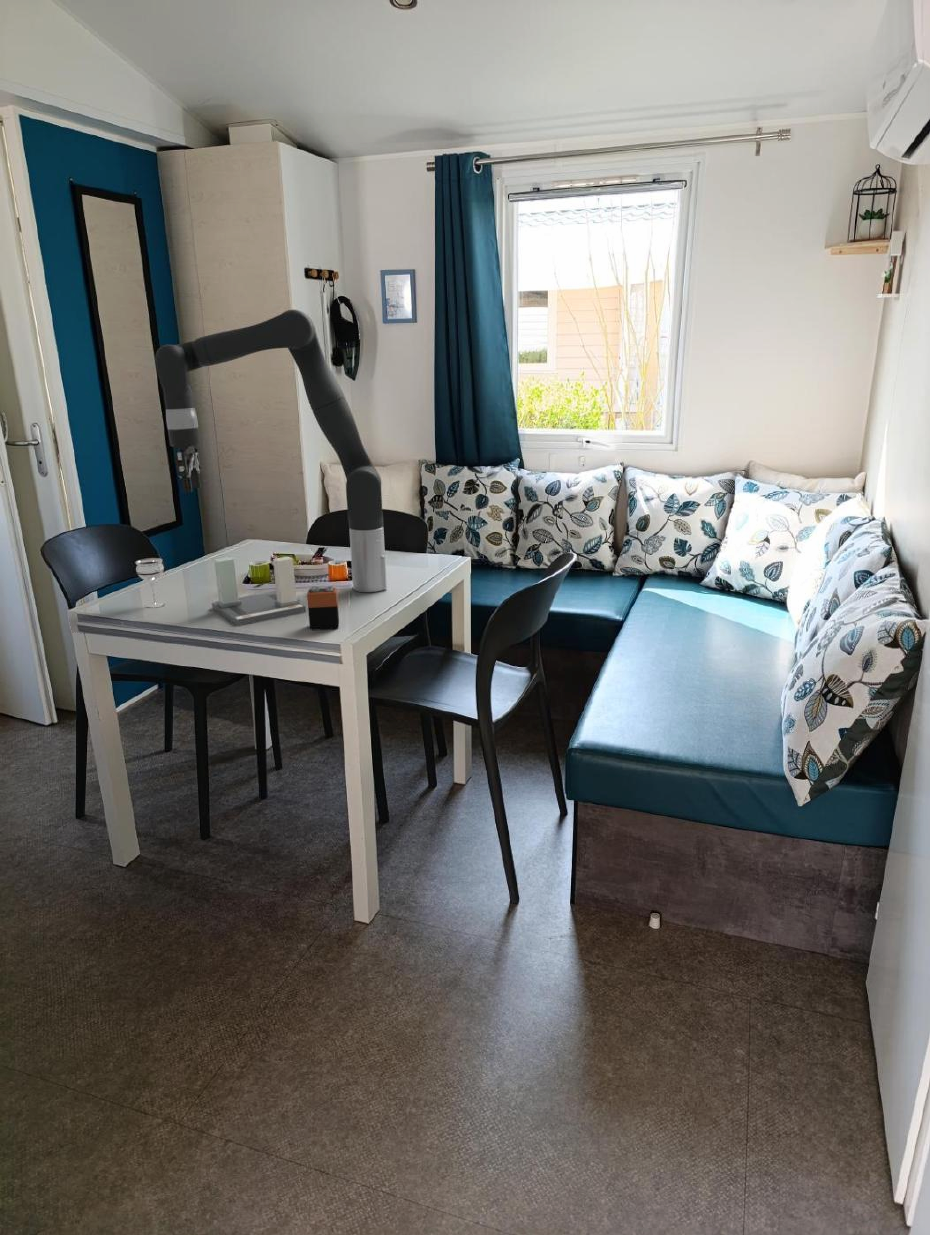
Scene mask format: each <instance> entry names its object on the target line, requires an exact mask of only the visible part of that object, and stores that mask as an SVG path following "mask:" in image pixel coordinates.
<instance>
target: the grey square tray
mask: <svg viewBox="0 0 930 1235" xmlns="http://www.w3.org/2000/svg"><path fill="white" fill-rule="evenodd" d="M238 600H240V601H241V604H240V605H235V606H230V607H225V608H222V607H220V606H219V605H217V601H215V602H211V607H212V609H213V610H214V611H216V612H217V613H219V614H220V615H221V616H222V617H224V618H225V619H227V620H228V621H230V622H231V623H232V624H233V625H235V626H237V627H239V626H244V625H248V624H249V625H250V624H253V623H259V622H262V621H268V620H271V619H273V620H274V619H278V618H282V617H287V616H293V615H298V614H301V613H302V614H303V613H307V610H306V605H304V604H302V603H301V602H299V604H296V605H291V606H286V607H279V606H278V605H276V604H275V601H276V600H277V594H276V590H274V591H273V590H272V591H267V592H262V593H257V594H252V595H251V594H250V595H246V596H241V597H238ZM292 614H293V615H292Z"/></svg>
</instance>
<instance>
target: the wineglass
mask: <svg viewBox="0 0 930 1235" xmlns="http://www.w3.org/2000/svg"><path fill="white" fill-rule="evenodd" d="M135 564H136V568H135V571H136V572H135V573H136V574H137V575H138V577H139V578H141V579H142V580H143V581H147V582H148V583H150V587H151V593H152V599H153V602H152V603H149V605H148V604H147V605H148V607H159V606H162V605H163V603H164V602H156V593H155V582H156V580H158V579H160V578H161V576H162V575H163V574H164V570H165V567H164V565H163V559H162V558H158V557H150V558H143V559H138V560H136V561H135ZM159 608H160V607H159Z"/></svg>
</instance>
